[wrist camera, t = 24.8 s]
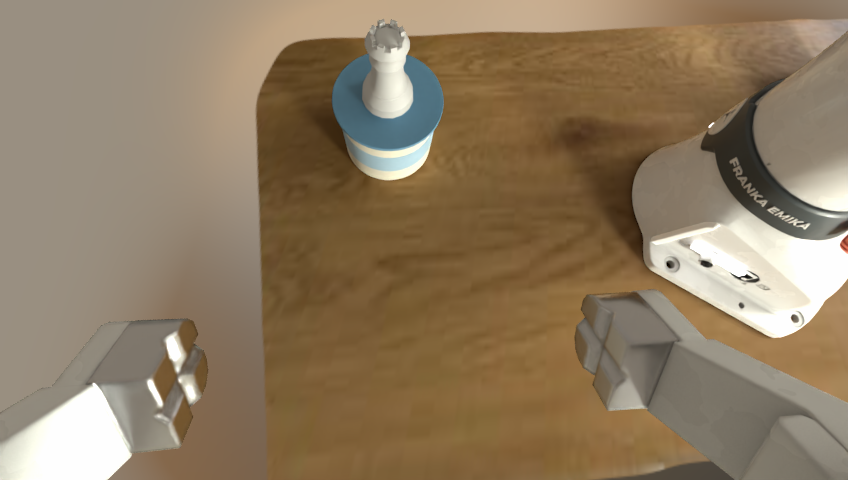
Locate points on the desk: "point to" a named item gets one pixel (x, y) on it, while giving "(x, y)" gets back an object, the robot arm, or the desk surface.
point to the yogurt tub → (387, 121)
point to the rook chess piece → (387, 71)
